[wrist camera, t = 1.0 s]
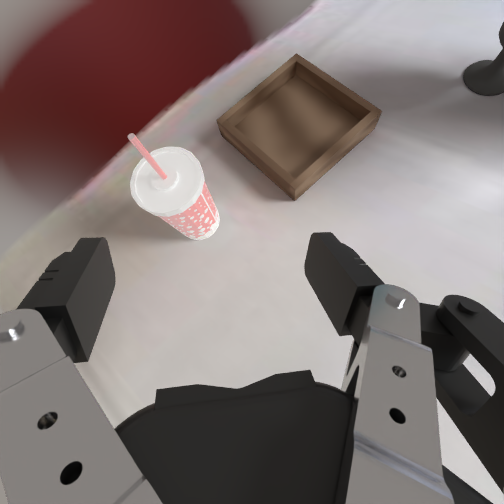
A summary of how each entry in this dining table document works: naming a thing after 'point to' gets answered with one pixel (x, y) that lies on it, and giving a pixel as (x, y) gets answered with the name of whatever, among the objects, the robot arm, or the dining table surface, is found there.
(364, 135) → the walnut tray
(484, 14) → the dining table surface
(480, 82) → the sundae
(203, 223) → the beverage cup
